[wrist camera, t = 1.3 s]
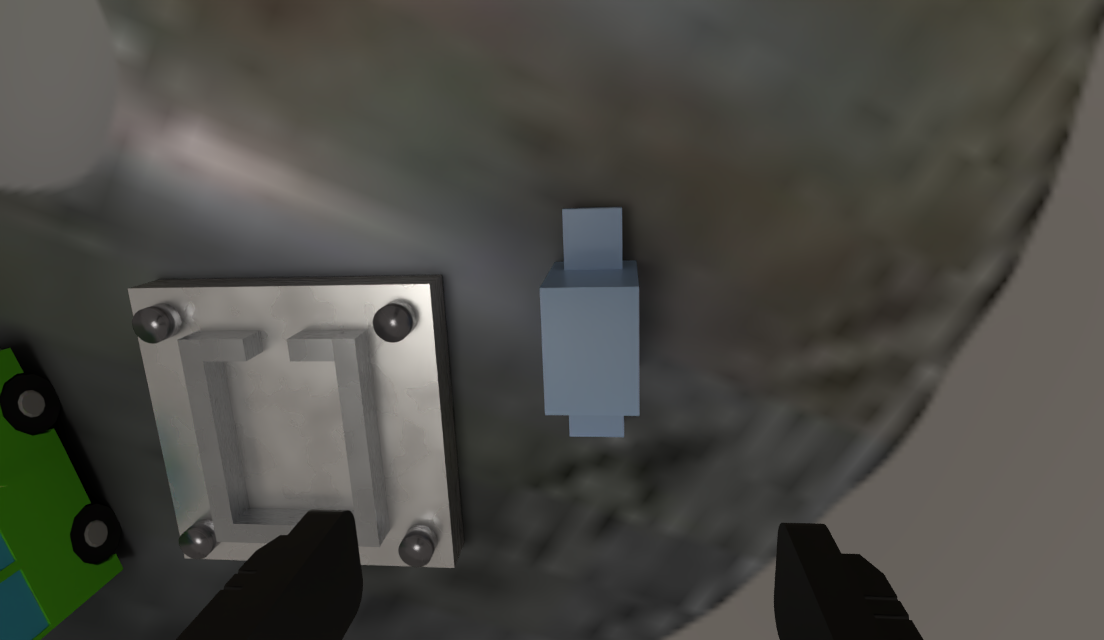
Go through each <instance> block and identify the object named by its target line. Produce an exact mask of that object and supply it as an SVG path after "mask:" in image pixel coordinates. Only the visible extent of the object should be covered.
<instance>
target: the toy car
mask: <svg viewBox="0 0 1104 640" xmlns="http://www.w3.org/2000/svg"><path fill="white" fill-rule="evenodd" d="M21 373H24V372H23V370H22V369H21V367H20V365H19V363H18V361H17V359H16V358H15V356H14V354H13V352H12V350H11V348H7V349H4V350H1V348H0V640H40V639H42V638H43V637H44V636H45V635H46V634H48V633H49V632H50V631H51V630H52V629H53V628H55V627H56V626H57V625H58V624H59V623H60V622H62V621H63V620H64V619H65V618H66V617H68V616H69V615H70V614H71V613H72V612H73V611H75V610H76V609H77V608H78V607H79V606H80V605H82V604H83V603H84V602H85V601H86V600H88V599H89V598H90V597H91V596H92V595H93V594H95V593H96V592H97V591H98V590H99V589H100V588H102V587H103V586H104V585H105V584H106V583H108V582H109V581H110V580H111V579H112V578H113V577H115V576H116V575H117V574H118V573H119V572H120V571H122V570H123V567H122V565H121V563H120V561H119V559H118V557H117V555H116V554H113V555H111V554H112V553H113V552H114V551H115V549H116V548H117V547H118V543H119V539H120V534H121V529H120V524H119V522H118V520H117V517H116V515H115V513H114V512H113V511H112V510H111V509H110V507H107V506H103V505H99V504H94V505H89V506H85V505H87V504H90V503H91V502H90V500H89V498H88V496H87V494H86V492H85V490H84V488H83V486H82V484H81V482H80V480H79V477H78V475H77V473H76V471H75V469H74V467H73V465H72V463H71V461H70V459H69V457H68V455H67V453H66V451H65V449H64V447H63V445H62V443H61V441H60V439H59V437H58V435H57V433H56V431H55V430H54V428H53V429H49V430H47V429H48V428H49V427H51V426H52V425H53V424H54V423H55V422H56V421H57V418H58V414H59V411H60V408H61V406H60V401H59V398H58V396H57V394H56V392H55V390H54V388H53V386H52V385H51V384H50V383H49V381H48V380H46V379H43V378H41V377H39V376H37V375H34V374H29V375H19V376H15V377H13V376H14V375H17V374H21ZM84 506H85V507H84Z"/></svg>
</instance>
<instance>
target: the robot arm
mask: <svg viewBox="0 0 1104 640" xmlns="http://www.w3.org/2000/svg"><path fill="white" fill-rule="evenodd" d="M362 591H363V577H362V569H361V562H360V554H359V547H358V539H357V531H356V524H355V519H354V516H353V514H352V512H351V511H349V510H323V509H312V510H309V511H308V512H307V513H306V514H305V515H304V516H303V517H302V519H301V520H300V521H299V522H298V523H297V524H296V526H295V527H294V528H293V529H292V530H291V531H290V533H289V534H288V535H280V536H278V537H277V538H275V539H273V540H272V541H270V542H269V543H267V544H266V545H264V546H263V547H261V548H259V549H258V550H256V551H255V552H254V553H253V554H252V556H251V557H250V558H249V559H248V560H247V561H246V562H245V563H244V564H243V566H242V567H241V568H240V569H239V572H238V574H234V576H233V577H232V578H231V579H230V580H229V581H228V582H227V583H226V584H225V586H224V590H220V591H219V592H218V593H217V594H216V596H215V597H214V598H213V599H212V600H211V601H210V602H209V603H208V604H207V606H206V607H205V608H204V609H203V610H202V611H201V612H200V613H199V614H198V616H197V617H196V618H195V619H194V620H193V621H192V622H191V623H190V624H189V626H188V627H187V628H186V629H185V630H184V631H183V632H182V633H181V635H180V636H179V637H178V638H177V639H176V640H342V639H343V637H344V635H345V633H346V632H347V630H348V628H349V626H350V625H351V623H352V621H353V619H354V618H355V616H356V614H357V612H358V609H359V606H360V602H361V598H362ZM774 611H775V620H776V627H777V631H778V635H779V639H780V640H923V638H922V637H921V635H920V633H919V632H918V630H917V628H916V627H915V625H914V623H913V622H912V620H909V615H908V613H907V612H906V610H905V609H904V607H903V605H902V604H901V602H900V601H898V600H897V595H896V594H895V592H894V590H893V589H892V587H891V585H890V584H889V582H888V580H887V579H886V577H885V575H884V574H883V573H882V572H880V571H879V570H878V569H877V568H876V567H874V566H873V565H872V564H871V563H869V562H868V561H867V560H866V559H865V558H863V557H862V556H861V555H860V554H841V552H840V550H839V548H838V547H837V545H836V543H835V541H834V539H833V537H832V535H831V533H830V531H829V530H828V528H827V527H826V525H825V524H810V523H781V524H780V526H779V530H778V539H777V556H776V572H775V588H774Z"/></svg>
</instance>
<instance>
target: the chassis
mask: <svg viewBox="0 0 1104 640" xmlns="http://www.w3.org/2000/svg"><path fill="white" fill-rule="evenodd" d="M128 292H129V297H130V302H131V306H132V311H133V320H132V325H133V329H134V331H135V333H136V335H137V336H138V339H139V344H140V349H141V354H142V358H143V363H144V368H145V372H146V377H147V382H148V387H149V391H150V396H151V401H152V405H153V410H154V415H155V420H156V424H157V429H158V434H159V438H160V443H161V448H162V453H163V457H164V462H165V467H166V471H167V476H168V481H169V486H170V490H171V495H172V500H173V504H174V509H175V514H176V519H177V523H178V528H179V533H180V538H179V546H180V548H181V550H182V551H183V553H184V556H185V558H193V559H221V560H248V559H249V558H250V557H251V556H252V554H253V553H254V552H255V551H256V550H258V549H259V548H261V547H263V546H264V545H266V544H267V543H269V542H270V541H272V540H273V539H275V538H277V537H278V536H280V535H288V534H289V533H290V531H291V530H292V529H293V528H294V527H295V526H296V524H297V523H298V522H299V521H300V520H301V519H302V517H303V516H304V515H305V514H306V513H307V512H308V511H309V510H312V509H323V510H349V511H351V512H352V514H353V516H354V519H355V524H356V531H357V539H358V547H359V554H360V562H361V565H388V566H412V567H444V568H455V565H456V563H457V560H458V558H459V555H460V553H461V550H462V548H463V545H464V535H463V523H462V511H461V498H460V486H459V474H458V462H457V450H456V438H455V426H454V413H453V401H452V389H451V377H450V365H449V353H448V341H447V329H446V316H445V304H444V292H443V280H442V275H407V276H345V277H282V278H220V279H158V280H155V281H151V282H148V283H145V284H141V285H138V286H134V287H131V288H128Z"/></svg>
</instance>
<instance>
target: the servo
mask: <svg viewBox="0 0 1104 640" xmlns="http://www.w3.org/2000/svg"><path fill="white" fill-rule="evenodd" d="M562 217H563V247H564V262H555V263H554V264H553V266H552V268H551V270H550V271H549V273H548V275H547V276H546V278H545V280H544V281H543V283H542V285H541V287H540V308H541V331H542V354H543V377H544V400H545V415H569V428H570V436H574V437H624V416H639V281H638V272H637V262H636V260H631V261H622V207H592V208H563V209H562Z"/></svg>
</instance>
